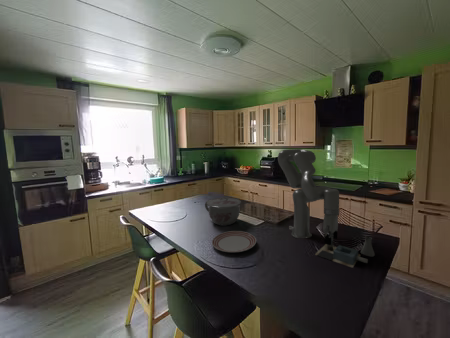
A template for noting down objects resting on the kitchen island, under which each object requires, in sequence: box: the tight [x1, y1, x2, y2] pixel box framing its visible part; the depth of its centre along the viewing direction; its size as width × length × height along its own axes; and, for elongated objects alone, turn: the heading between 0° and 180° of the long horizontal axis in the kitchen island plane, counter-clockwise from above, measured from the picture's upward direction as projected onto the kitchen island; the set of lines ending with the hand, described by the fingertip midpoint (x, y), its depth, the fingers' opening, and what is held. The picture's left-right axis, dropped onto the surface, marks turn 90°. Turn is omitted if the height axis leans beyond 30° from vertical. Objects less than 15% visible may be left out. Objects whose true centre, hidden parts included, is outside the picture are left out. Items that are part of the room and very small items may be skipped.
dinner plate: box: [211, 230, 257, 253], centre depth 130 cm, size 27×27×3 cm
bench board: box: [314, 243, 362, 269], centre depth 112 cm, size 18×16×1 cm
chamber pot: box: [204, 196, 242, 226], centre depth 166 cm, size 28×28×21 cm
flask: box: [360, 236, 376, 257], centre depth 112 cm, size 7×7×10 cm
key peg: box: [327, 231, 334, 251], centre depth 117 cm, size 3×3×10 cm
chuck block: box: [333, 244, 369, 265], centre depth 107 cm, size 14×9×4 cm, turn 45°
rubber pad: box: [316, 250, 333, 262], centre depth 112 cm, size 7×7×1 cm
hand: (331, 241), depth 117 cm, fingers open, 9 cm apart
